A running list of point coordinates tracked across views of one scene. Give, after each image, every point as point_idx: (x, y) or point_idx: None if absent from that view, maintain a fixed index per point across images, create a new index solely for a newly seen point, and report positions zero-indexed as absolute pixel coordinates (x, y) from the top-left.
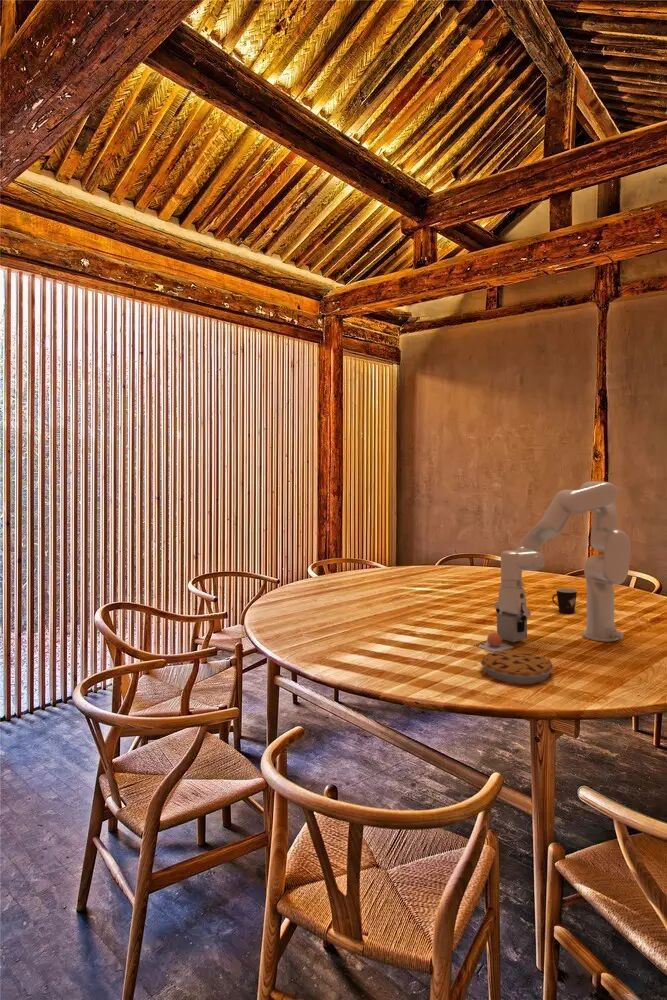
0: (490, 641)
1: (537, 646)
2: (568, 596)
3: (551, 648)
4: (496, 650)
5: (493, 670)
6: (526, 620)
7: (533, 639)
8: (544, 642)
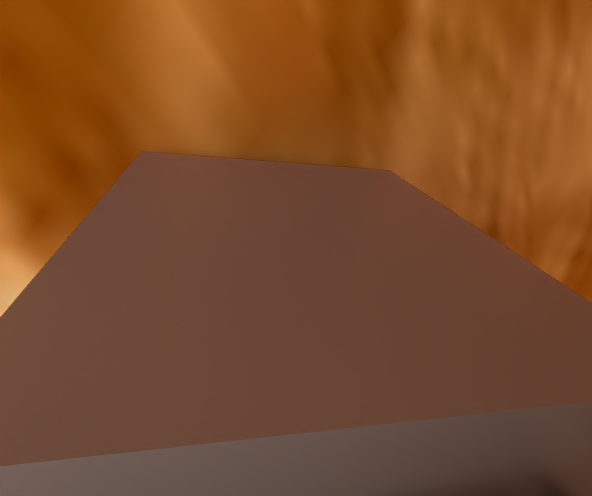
0: None
1: (480, 191)
2: None
3: (586, 148)
4: None
5: None
6: (559, 301)
7: (376, 2)
8: (507, 19)
